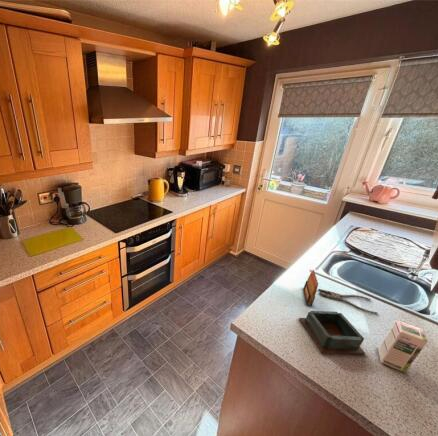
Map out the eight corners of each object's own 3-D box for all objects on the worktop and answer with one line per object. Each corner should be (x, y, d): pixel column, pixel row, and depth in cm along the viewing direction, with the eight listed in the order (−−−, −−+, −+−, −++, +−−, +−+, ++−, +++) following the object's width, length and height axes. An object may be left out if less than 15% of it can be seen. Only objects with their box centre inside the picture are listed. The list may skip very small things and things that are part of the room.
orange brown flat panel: (303, 288, 107) (310, 267, 102) (307, 290, 106) (315, 269, 101) (306, 304, 98) (315, 282, 93) (311, 306, 97) (320, 284, 92)
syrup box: (380, 362, 75) (401, 332, 69) (377, 349, 80) (396, 319, 74) (404, 373, 72) (428, 342, 66) (400, 358, 77) (422, 327, 71)
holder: (335, 321, 90) (340, 309, 88) (364, 355, 78) (371, 343, 75) (298, 319, 91) (303, 308, 88) (321, 353, 78) (327, 341, 76)
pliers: (383, 313, 92) (326, 303, 97) (382, 315, 93) (325, 305, 97) (369, 296, 101) (317, 288, 106) (368, 298, 101) (316, 289, 106)
